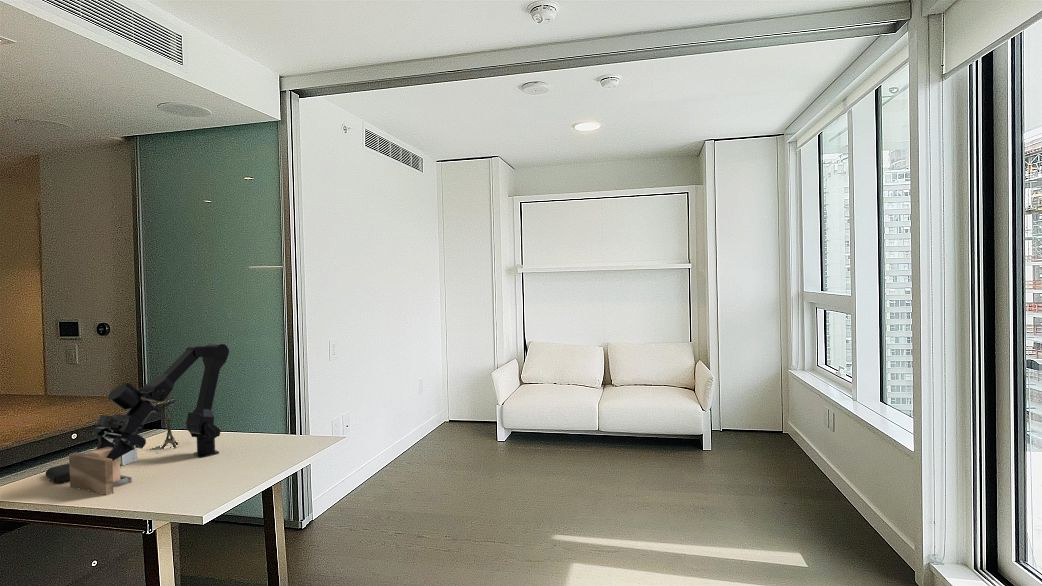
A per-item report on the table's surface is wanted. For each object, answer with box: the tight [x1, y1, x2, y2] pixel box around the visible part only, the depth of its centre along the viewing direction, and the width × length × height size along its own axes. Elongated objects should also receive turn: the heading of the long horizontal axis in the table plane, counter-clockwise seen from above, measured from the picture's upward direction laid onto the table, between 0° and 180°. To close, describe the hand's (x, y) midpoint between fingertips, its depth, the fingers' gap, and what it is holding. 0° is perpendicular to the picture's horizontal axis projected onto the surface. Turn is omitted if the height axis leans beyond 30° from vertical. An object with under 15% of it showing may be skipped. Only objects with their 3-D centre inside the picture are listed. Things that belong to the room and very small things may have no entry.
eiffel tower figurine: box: [149, 412, 179, 452], centre depth 220 cm, size 15×10×13 cm
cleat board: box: [68, 451, 133, 496], centre depth 179 cm, size 10×18×10 cm, turn 65°
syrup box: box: [109, 429, 139, 466], centre depth 202 cm, size 6×6×14 cm
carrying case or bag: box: [45, 463, 70, 484], centre depth 188 cm, size 11×3×15 cm
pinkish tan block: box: [87, 447, 121, 482], centre depth 179 cm, size 6×6×10 cm
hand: (99, 462), depth 178 cm, fingers closed on pinkish tan block, 5 cm apart
